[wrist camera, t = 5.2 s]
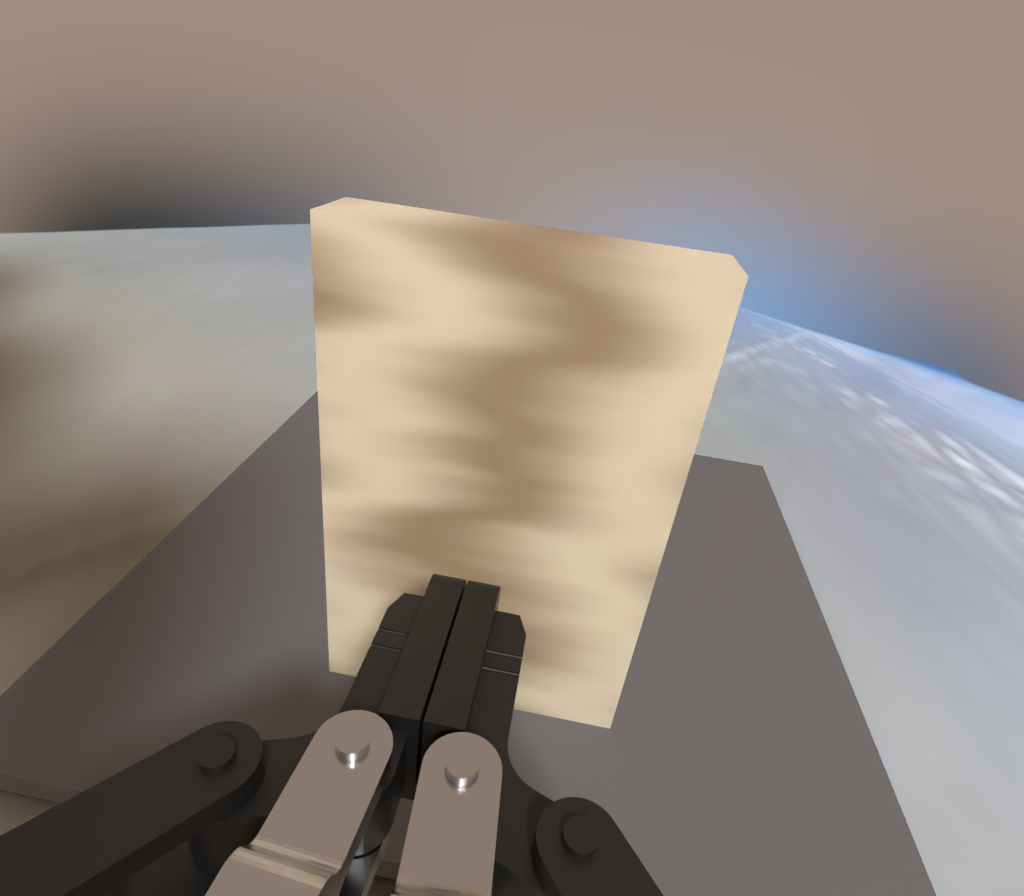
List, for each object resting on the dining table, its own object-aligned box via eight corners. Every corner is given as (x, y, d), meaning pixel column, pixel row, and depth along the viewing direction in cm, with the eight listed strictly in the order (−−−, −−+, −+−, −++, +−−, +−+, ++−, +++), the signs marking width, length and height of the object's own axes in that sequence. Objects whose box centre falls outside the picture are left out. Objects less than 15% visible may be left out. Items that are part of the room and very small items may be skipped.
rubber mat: (-54, 777, 16) (-65, 759, 16) (319, 401, 37) (319, 389, 37) (959, 1007, 15) (975, 993, 14) (758, 478, 35) (762, 466, 35)
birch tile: (329, 671, 20) (310, 209, 13) (354, 622, 22) (348, 195, 15) (609, 728, 19) (748, 276, 12) (610, 673, 21) (730, 253, 14)
